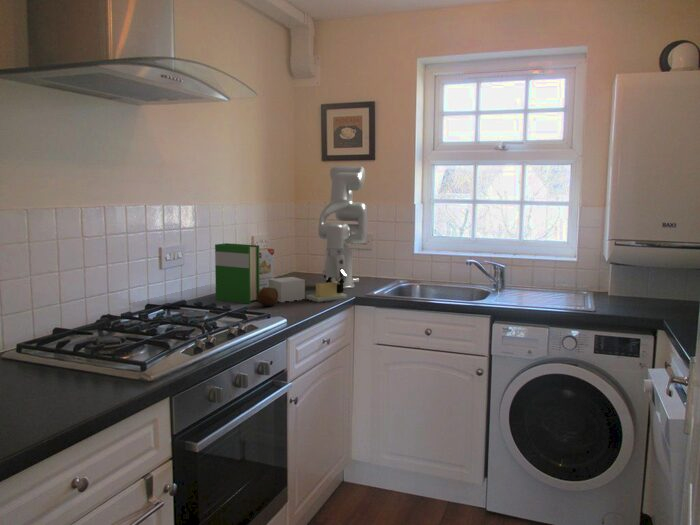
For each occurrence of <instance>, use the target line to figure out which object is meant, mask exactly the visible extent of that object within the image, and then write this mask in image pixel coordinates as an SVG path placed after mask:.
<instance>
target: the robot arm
mask: <svg viewBox="0 0 700 525" xmlns="http://www.w3.org/2000/svg"><path fill="white" fill-rule="evenodd" d="M329 176H330V180H331V187H330V188H331V190H330V202H329V203H328V204H327V205H326V206H325V207H324V208H323V210H321V212H320V214H319V218H318V227H317V228H318V229H317V230H318V236H319V238H320V239H322V240H325V241H326V242H325V243H326V245H325V246H326V250H325V252H326V254H325V260H324V261H325V263H324V270H323V271H322V274H323V277H324V281H325V283H328V282H337V283H338V284H337V293H342V294H344V289H353V288H355V287H356V286H355V283H359V282H360V278H359V277H357V278H354V277H352V275H353V251H352V249H351V247H350V246H349V245H348V244H364V243H366V242H367V238H368V208H367V205H366V204H365V203H364V202H359V201H358V202H357V201H355V202H353V194H354V193H353V191H354V192H355V191H356V192H357V191H358V192H359V191H361V190H362V189H363V187H364V183H365V181H366V170H365V168H364V166H361V165H335V166H332V167H331V168H330V171H329ZM334 213H335V215H334V216H335V218H336V220H338V221H339V222H326V220H327V219H328V217H329V216H331V215H332V214H334ZM340 222H343V223H340ZM344 222H356V223H357V224H356V223H344Z"/></svg>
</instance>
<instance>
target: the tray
mask: <svg viewBox="0 0 700 525" xmlns="http://www.w3.org/2000/svg"><path fill="white" fill-rule="evenodd" d="M307 299H309V300H308V301H311V300H312V301H311V302H314V301H315V303H323V301H325V302H329V301H330V302H332V301H338V300H346V299H348V294H347V293H342V295H336V296H328V297H320V298H317V297H316V293H314V294H307V295H306V300H307ZM331 300H332V301H331Z"/></svg>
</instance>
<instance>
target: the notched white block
mask: <svg viewBox="0 0 700 525" xmlns="http://www.w3.org/2000/svg"><path fill="white" fill-rule="evenodd" d="M306 284H307V279H304V278H299V277H296V276H287V277H279V278H278V277H277V278H276V277H274V279H269V287H270V288H275V289H276V290H277V292H278V300H277V302H278V301H279V303H286V302H285V301H289V302H295V301H294V300H297V301H303V300H302V299H305V298H306V296H305V295H306V294H305V293H306V291H305V290H306V286H305V285H306ZM305 300H306V299H305Z"/></svg>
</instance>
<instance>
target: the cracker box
mask: <svg viewBox="0 0 700 525" xmlns="http://www.w3.org/2000/svg"><path fill="white" fill-rule="evenodd" d="M274 270H275V249H274V248H270V247H268V248H267V247H264V248H259V292H260V291H261V290H262V289H264V288H266V287H269V279H275V277H274V275H275V274H274V272H275V271H274Z"/></svg>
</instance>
